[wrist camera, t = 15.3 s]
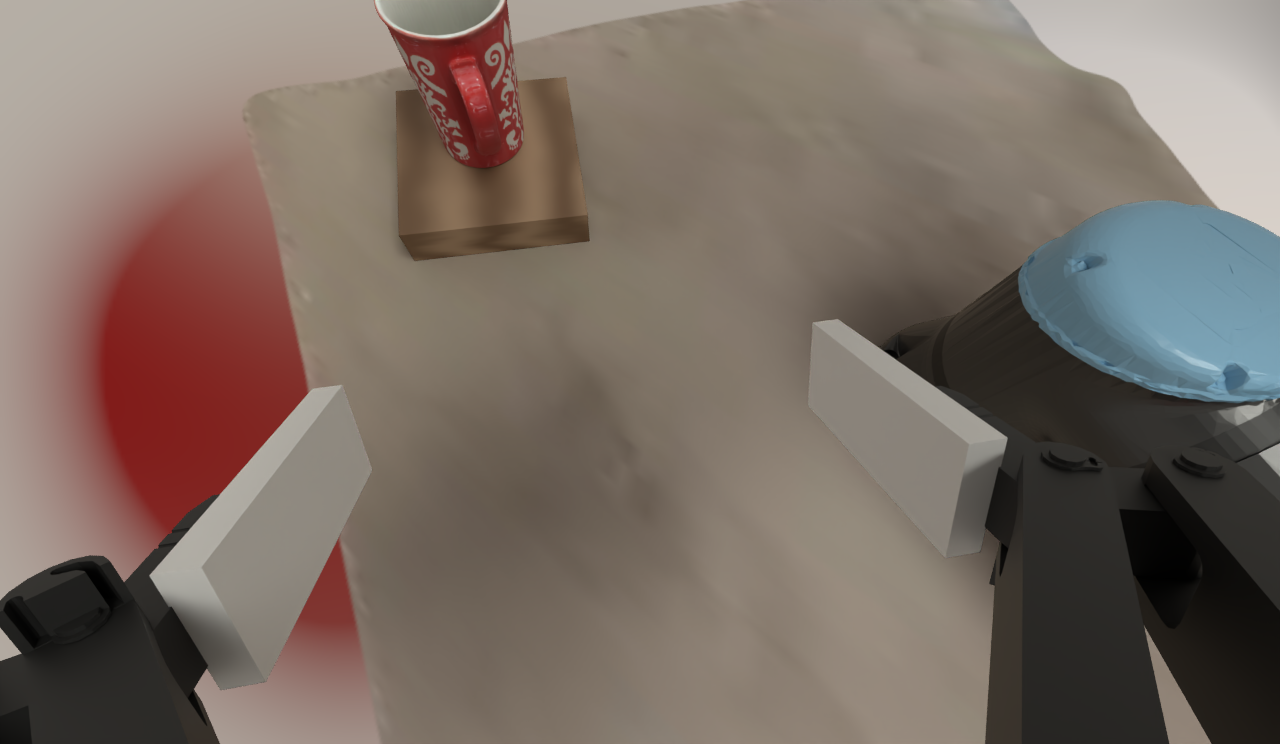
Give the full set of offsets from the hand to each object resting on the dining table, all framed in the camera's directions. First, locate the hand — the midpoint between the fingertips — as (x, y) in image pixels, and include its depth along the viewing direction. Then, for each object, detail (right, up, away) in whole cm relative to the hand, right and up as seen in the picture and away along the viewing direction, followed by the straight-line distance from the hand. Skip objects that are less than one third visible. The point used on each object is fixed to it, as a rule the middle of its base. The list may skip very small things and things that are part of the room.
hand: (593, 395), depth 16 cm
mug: (-13, +21, +34) cm, 42 cm away
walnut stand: (-13, +19, +38) cm, 44 cm away
